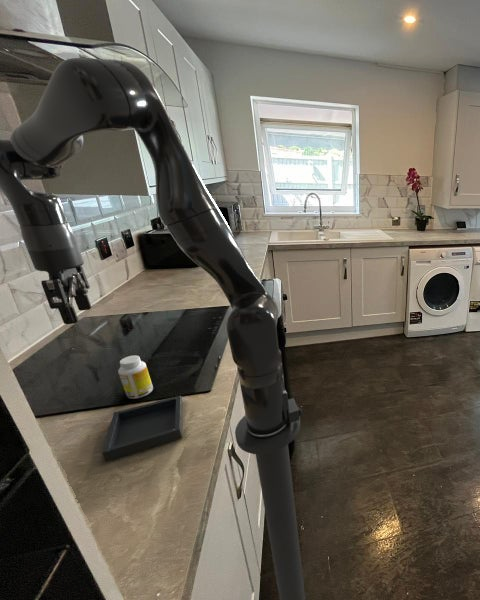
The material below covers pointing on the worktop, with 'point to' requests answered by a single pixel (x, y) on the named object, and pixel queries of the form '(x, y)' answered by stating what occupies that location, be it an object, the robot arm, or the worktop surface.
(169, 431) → the shallow tray
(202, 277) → the worktop surface
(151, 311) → the worktop surface
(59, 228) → the robot arm
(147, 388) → the supplement bottle
